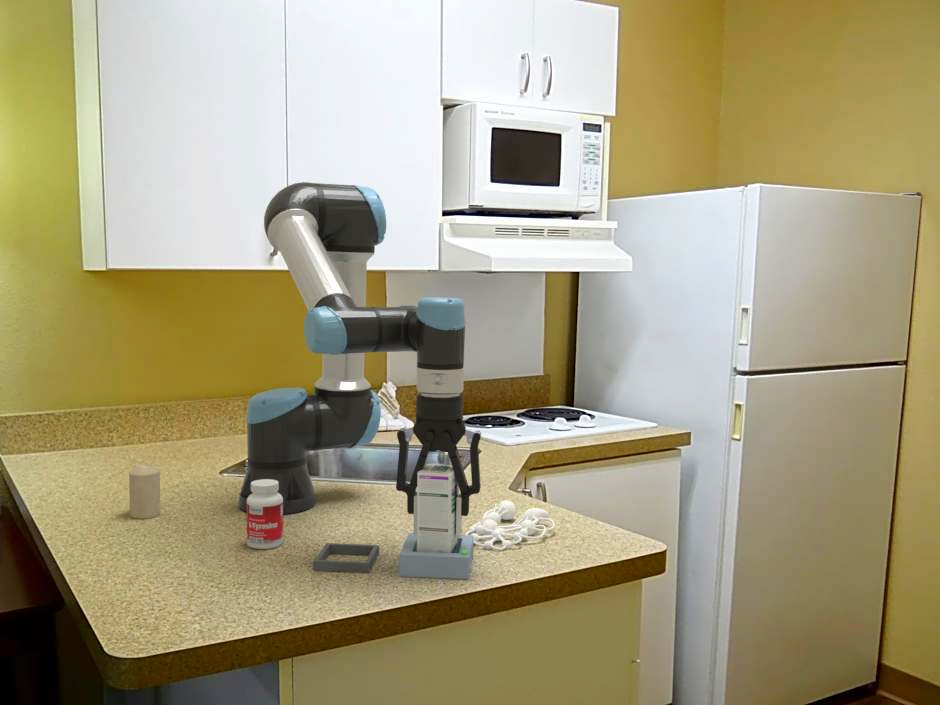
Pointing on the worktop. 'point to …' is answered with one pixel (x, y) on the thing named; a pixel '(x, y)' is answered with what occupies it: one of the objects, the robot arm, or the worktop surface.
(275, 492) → the pill bottle
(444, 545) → the syrup box
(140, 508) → the candle
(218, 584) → the worktop surface
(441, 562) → the frame
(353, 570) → the grey picture frame
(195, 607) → the worktop surface
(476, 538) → the tangled rod sculpture
